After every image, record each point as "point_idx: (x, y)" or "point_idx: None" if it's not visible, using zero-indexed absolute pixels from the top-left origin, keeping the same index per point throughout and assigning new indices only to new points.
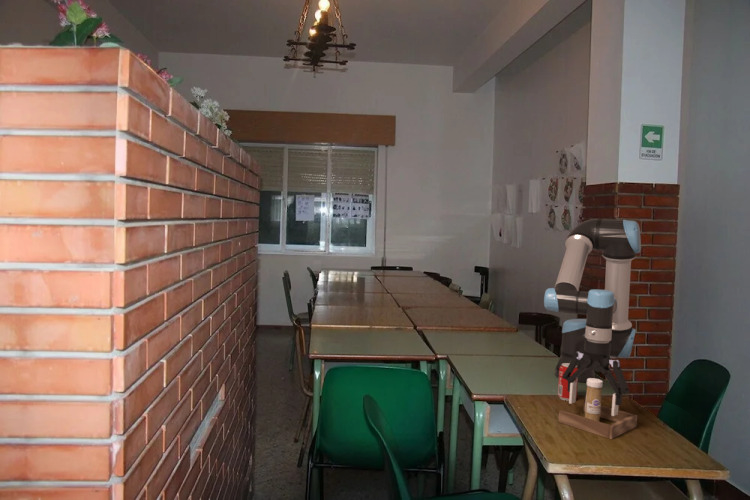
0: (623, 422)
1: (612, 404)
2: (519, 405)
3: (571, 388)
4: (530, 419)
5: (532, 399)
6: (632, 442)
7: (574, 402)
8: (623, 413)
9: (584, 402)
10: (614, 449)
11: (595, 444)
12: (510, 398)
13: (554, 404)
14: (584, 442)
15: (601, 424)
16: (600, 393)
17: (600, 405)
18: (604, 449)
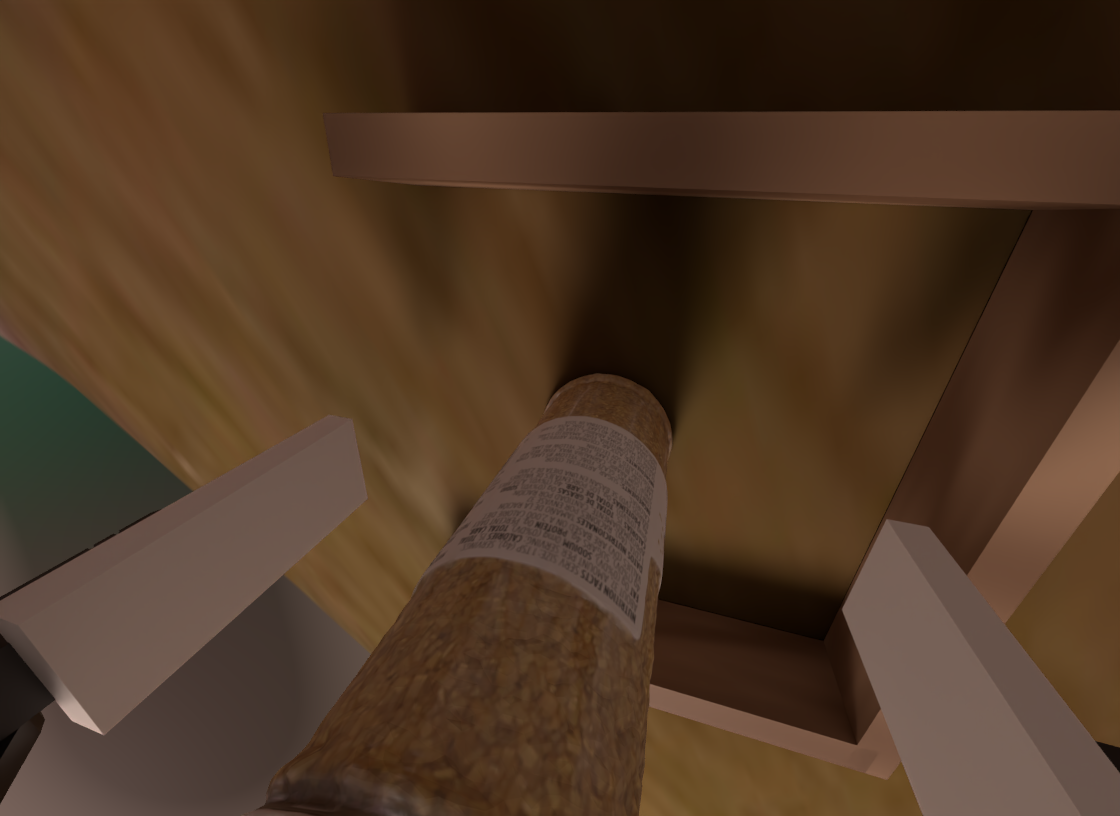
0: (1003, 615)
1: (916, 783)
2: (162, 434)
3: (195, 641)
4: (353, 605)
5: (59, 232)
6: (1038, 659)
7: (355, 440)
8: (991, 201)
9: (346, 174)
10: (894, 794)
11: (766, 766)
12: (42, 346)
13: (181, 198)
14: (703, 761)
15: (773, 739)
16: (638, 791)
17: (662, 557)
18: (833, 806)
